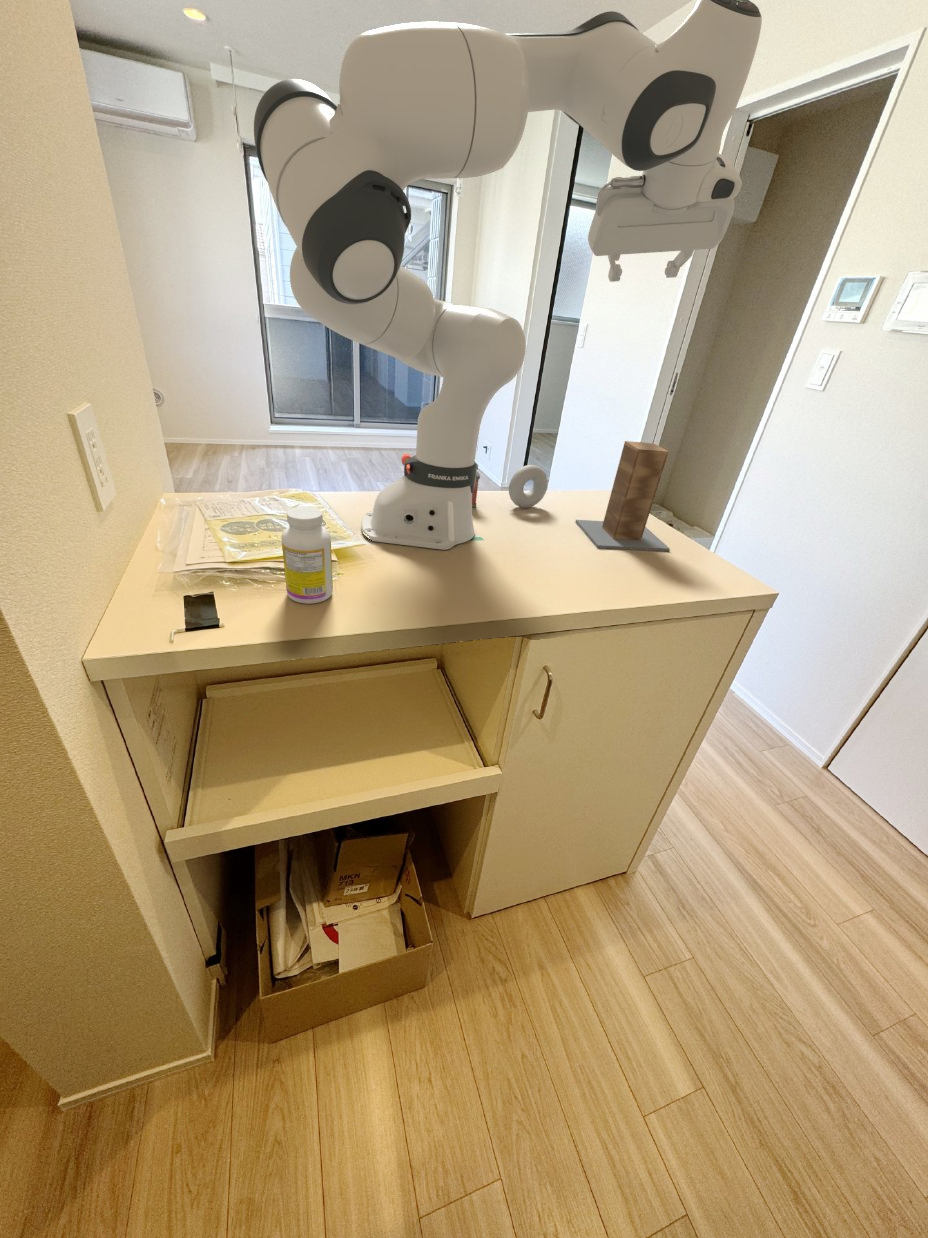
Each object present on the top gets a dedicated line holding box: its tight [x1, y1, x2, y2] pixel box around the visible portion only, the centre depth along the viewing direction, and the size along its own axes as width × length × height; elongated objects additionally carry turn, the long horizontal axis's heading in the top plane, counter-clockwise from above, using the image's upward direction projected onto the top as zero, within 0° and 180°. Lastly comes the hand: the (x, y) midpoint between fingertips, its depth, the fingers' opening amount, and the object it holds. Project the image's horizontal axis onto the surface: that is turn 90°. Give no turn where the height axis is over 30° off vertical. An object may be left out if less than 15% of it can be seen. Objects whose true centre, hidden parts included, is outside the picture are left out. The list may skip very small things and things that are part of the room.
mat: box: [575, 519, 671, 552], centre depth 110 cm, size 16×14×1 cm
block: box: [602, 440, 670, 540], centre depth 105 cm, size 6×6×19 cm
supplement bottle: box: [280, 506, 334, 605], centre depth 72 cm, size 7×7×13 cm
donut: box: [508, 464, 549, 509], centre depth 117 cm, size 10×4×10 cm, turn 116°
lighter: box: [472, 461, 481, 510], centre depth 116 cm, size 8×3×10 cm, turn 21°
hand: (641, 277), depth 82 cm, fingers open, 8 cm apart
